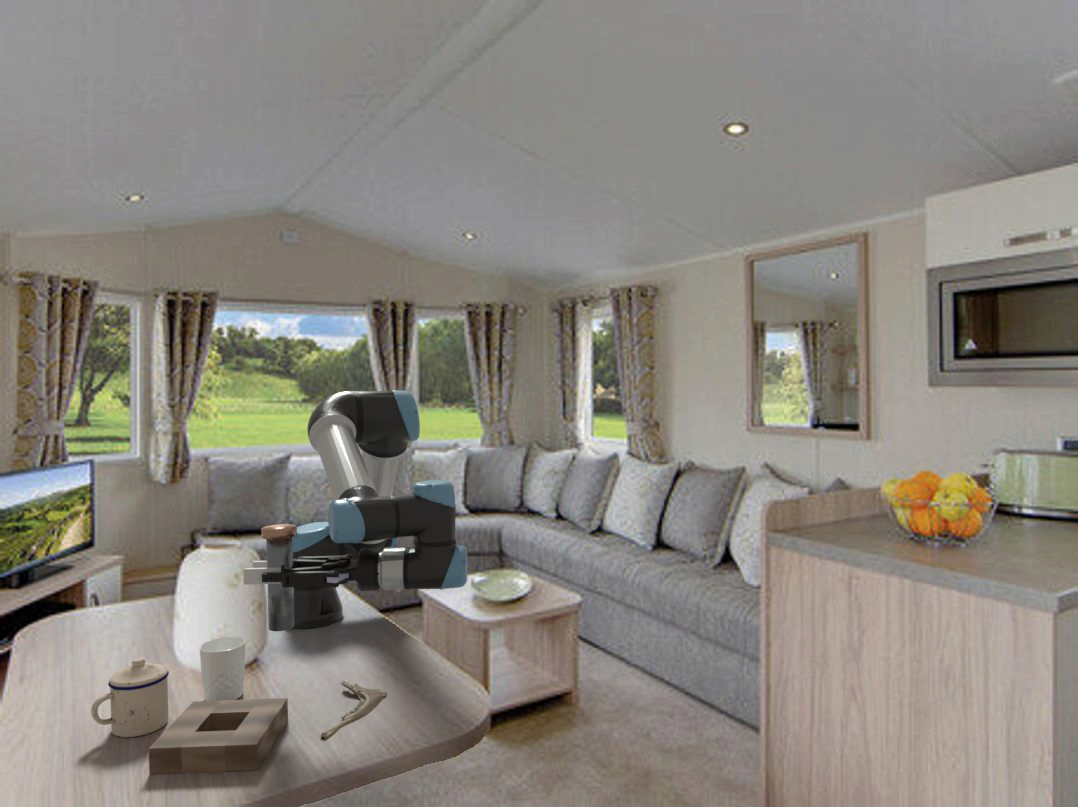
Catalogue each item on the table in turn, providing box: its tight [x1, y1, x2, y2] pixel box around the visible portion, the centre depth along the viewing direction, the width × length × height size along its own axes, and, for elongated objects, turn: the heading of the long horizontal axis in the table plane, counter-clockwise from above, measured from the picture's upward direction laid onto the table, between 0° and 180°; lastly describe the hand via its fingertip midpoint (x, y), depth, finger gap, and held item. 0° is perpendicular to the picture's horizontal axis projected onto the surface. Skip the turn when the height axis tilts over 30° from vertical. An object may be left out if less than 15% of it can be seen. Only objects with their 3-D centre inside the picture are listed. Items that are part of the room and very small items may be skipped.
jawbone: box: [320, 680, 388, 741], centre depth 129 cm, size 9×20×2 cm, turn 6°
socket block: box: [148, 697, 289, 775], centre depth 117 cm, size 16×16×4 cm
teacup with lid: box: [90, 657, 170, 738], centre depth 123 cm, size 12×9×12 cm
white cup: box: [199, 636, 246, 701], centre depth 136 cm, size 8×8×10 cm
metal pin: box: [260, 523, 298, 632], centre depth 129 cm, size 6×6×18 cm
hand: (249, 572), depth 129 cm, fingers closed on metal pin, 4 cm apart
